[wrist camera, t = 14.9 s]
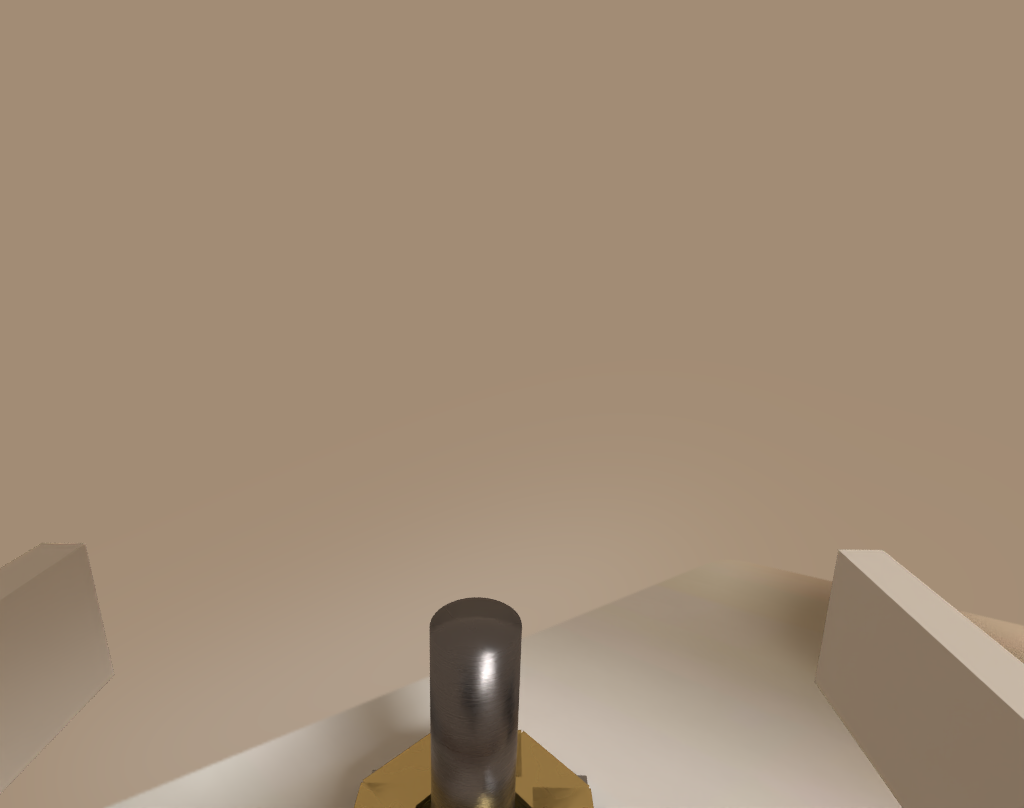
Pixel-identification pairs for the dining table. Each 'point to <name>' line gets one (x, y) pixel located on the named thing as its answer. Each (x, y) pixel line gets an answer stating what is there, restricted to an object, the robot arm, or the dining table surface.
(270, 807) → the dining table surface
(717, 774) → the dining table surface
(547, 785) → the ring nut
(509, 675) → the steel pin
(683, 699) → the dining table surface
